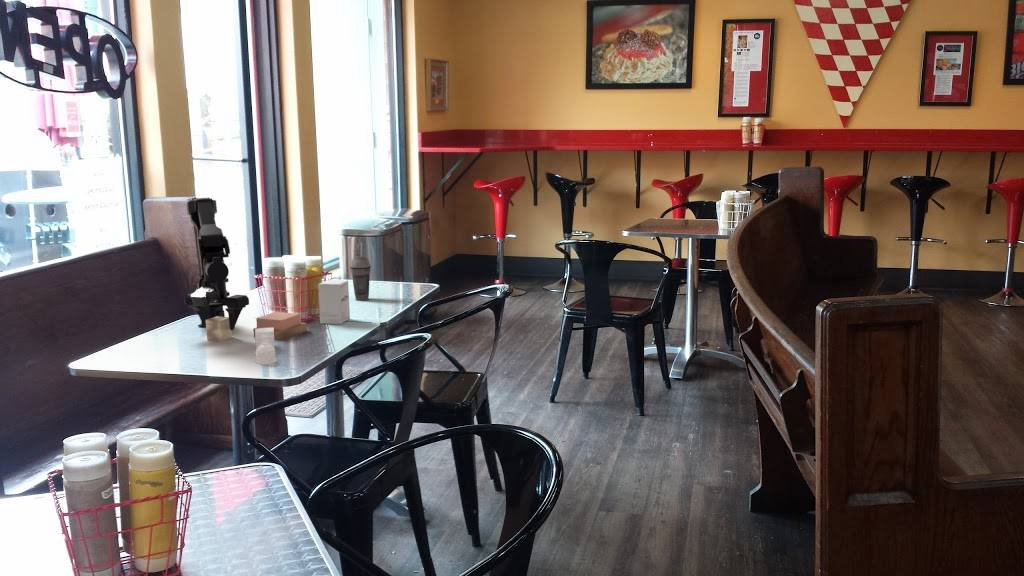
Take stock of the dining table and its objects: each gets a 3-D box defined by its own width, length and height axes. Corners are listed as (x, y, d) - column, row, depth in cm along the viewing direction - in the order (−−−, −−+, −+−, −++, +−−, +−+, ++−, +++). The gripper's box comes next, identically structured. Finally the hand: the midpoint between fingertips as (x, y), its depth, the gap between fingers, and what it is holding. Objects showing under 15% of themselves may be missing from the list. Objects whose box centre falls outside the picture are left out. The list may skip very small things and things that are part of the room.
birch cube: (207, 340, 259) (205, 320, 258) (218, 336, 263) (216, 316, 262) (221, 341, 257) (219, 321, 256) (232, 337, 261) (230, 317, 260)
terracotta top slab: (257, 328, 261) (256, 318, 261) (275, 321, 269) (274, 311, 269) (282, 330, 258) (282, 320, 257) (300, 323, 266) (300, 313, 266)
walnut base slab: (253, 338, 261) (253, 328, 261) (276, 330, 271) (275, 320, 271) (285, 341, 257) (284, 331, 257) (307, 332, 268) (306, 322, 267)
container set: (256, 347, 250) (254, 328, 249) (275, 345, 252) (273, 326, 251) (255, 366, 231) (254, 345, 230) (276, 364, 233) (275, 344, 232)
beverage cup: (362, 296, 317) (359, 240, 313) (377, 298, 313) (374, 242, 309) (347, 300, 311) (344, 243, 307) (362, 302, 307) (359, 245, 303)
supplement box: (341, 324, 275) (339, 284, 273) (319, 323, 276) (317, 283, 274) (350, 319, 282) (348, 279, 280) (328, 318, 284) (326, 279, 281)
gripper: (169, 279, 252) (174, 333, 255) (223, 282, 246) (227, 337, 249) (195, 272, 263) (200, 324, 266) (248, 275, 256) (252, 328, 259)
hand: (219, 328), depth 260 cm, fingers open, 9 cm apart
